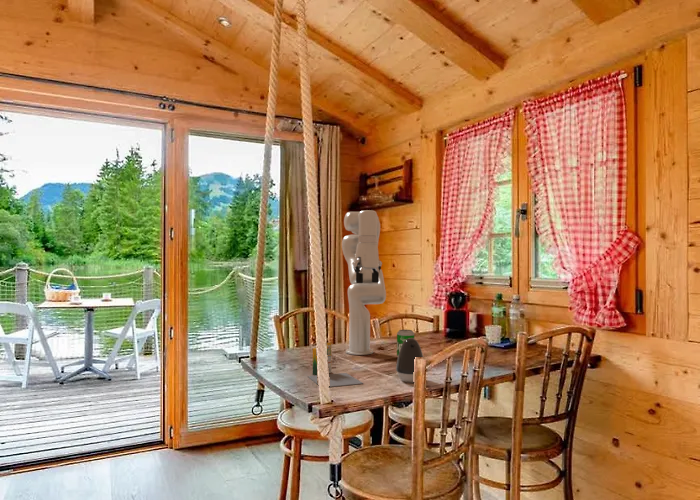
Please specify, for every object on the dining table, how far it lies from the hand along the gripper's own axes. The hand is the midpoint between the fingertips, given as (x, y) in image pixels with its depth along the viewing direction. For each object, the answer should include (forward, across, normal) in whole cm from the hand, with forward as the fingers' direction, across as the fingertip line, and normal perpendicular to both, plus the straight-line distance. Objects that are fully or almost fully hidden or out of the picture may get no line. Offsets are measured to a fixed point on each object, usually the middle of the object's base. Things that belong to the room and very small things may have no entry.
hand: (367, 282), depth 201 cm
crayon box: (+34, +23, -2) cm, 41 cm away
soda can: (+33, -22, +3) cm, 40 cm away
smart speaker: (+34, +8, +28) cm, 44 cm away
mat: (+34, +26, +8) cm, 44 cm away
